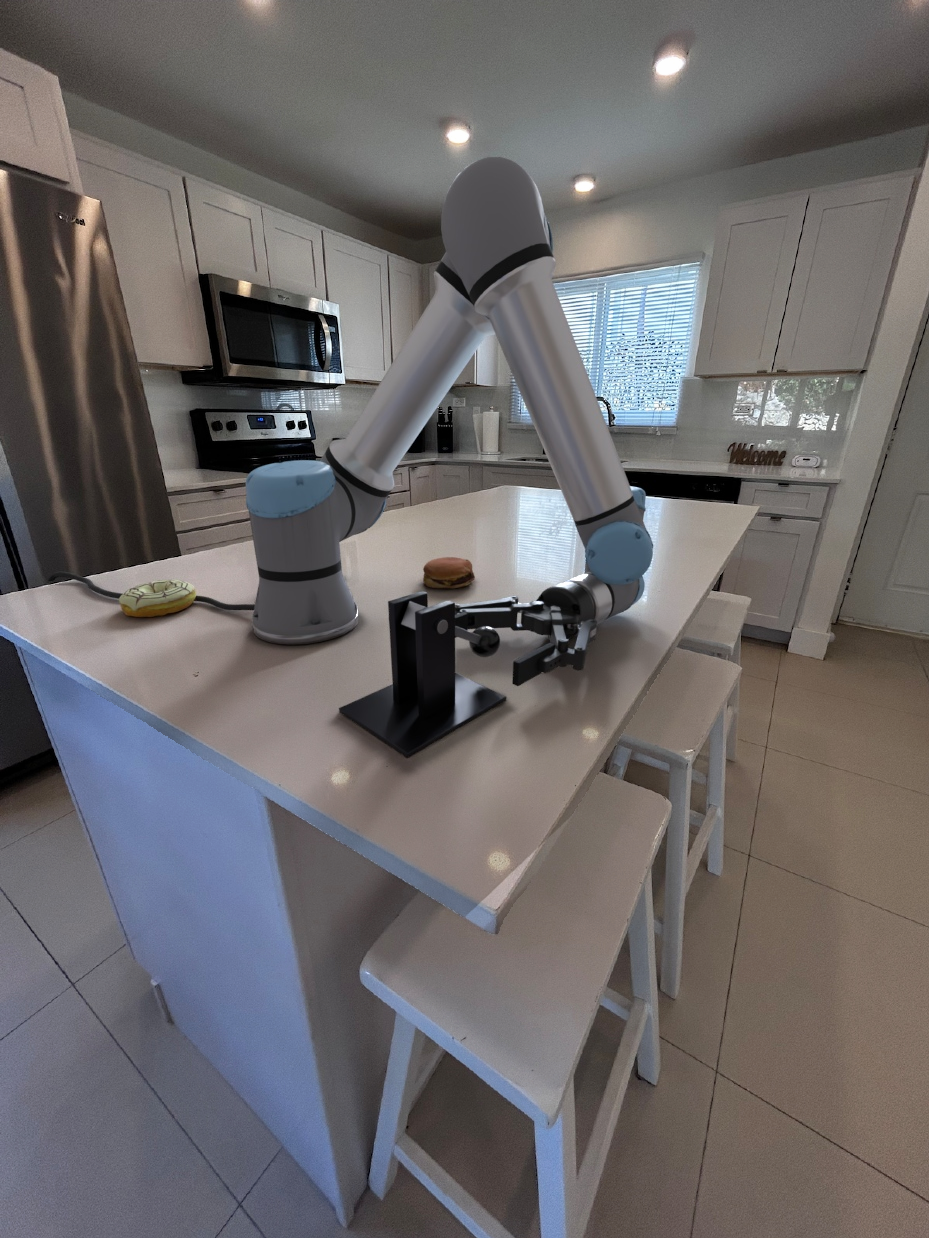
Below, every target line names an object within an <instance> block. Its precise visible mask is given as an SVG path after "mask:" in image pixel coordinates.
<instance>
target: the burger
mask: <svg viewBox="0 0 929 1238" xmlns="http://www.w3.org/2000/svg"><path fill="white" fill-rule="evenodd" d="M422 570H423V578H422V580H423V584H424V585H425V586H426V587H428V588H432V589H458V588H463V587H466V586H469V585H471V584H472V583H473V581H475V579H476V578H475V577H476V576H475V572H474V571H473V563H472V561H470V560H469V559H467V558H466V559H465V558H461V557H455V556H453V557H452V556H444V557H437V558H434V559H431V560H429V561H427V562H426V563H425V564H424V566H423V569H422Z"/></svg>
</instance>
